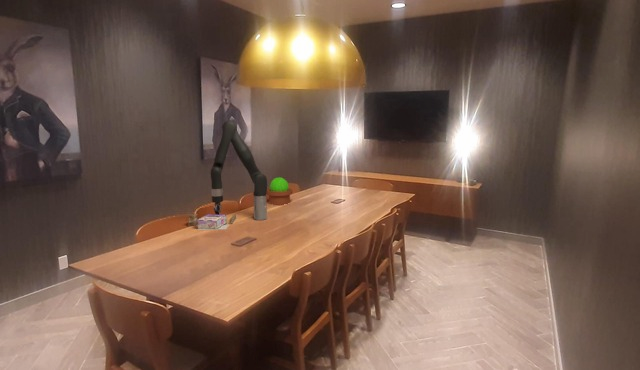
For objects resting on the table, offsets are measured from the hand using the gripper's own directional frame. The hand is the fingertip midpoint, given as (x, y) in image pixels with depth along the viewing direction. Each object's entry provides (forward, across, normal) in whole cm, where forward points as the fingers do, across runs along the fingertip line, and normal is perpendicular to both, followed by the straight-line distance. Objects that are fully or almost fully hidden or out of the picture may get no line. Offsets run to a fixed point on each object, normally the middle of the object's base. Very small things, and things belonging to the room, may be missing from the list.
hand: (218, 219), depth 251 cm
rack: (+2, +2, 0) cm, 3 cm away
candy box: (-1, -3, 0) cm, 3 cm away
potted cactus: (+2, +60, -40) cm, 72 cm away
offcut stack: (+2, -6, +15) cm, 17 cm away
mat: (+2, -15, 0) cm, 15 cm away
